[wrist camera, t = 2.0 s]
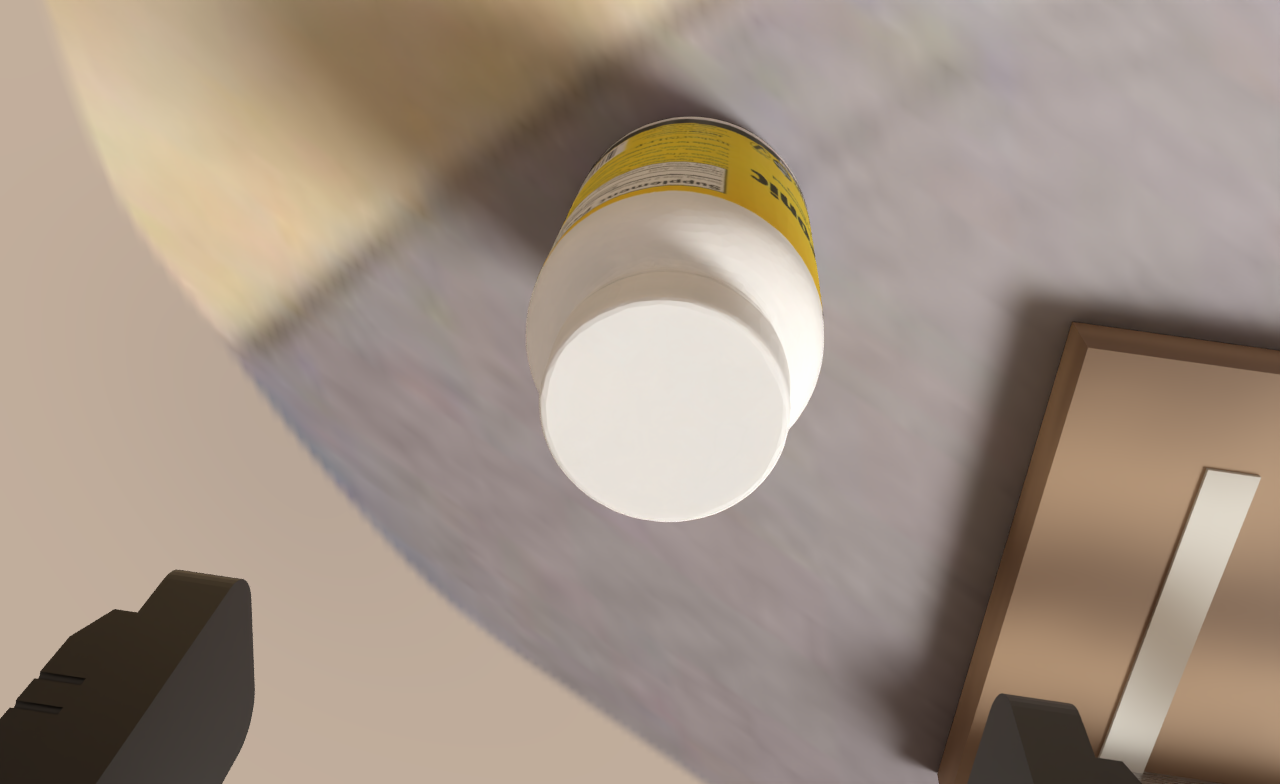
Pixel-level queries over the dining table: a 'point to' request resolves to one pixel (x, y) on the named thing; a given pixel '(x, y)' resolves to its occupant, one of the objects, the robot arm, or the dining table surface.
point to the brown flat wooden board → (1145, 561)
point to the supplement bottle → (677, 321)
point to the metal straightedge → (1167, 779)
